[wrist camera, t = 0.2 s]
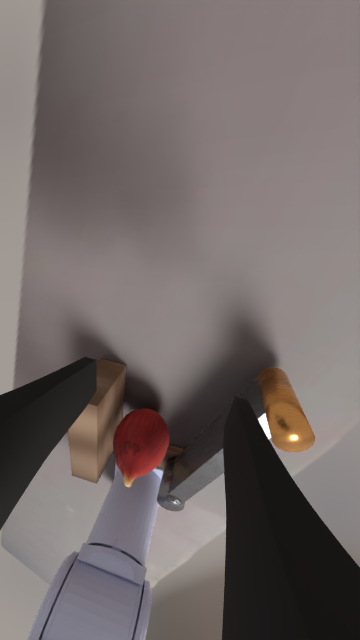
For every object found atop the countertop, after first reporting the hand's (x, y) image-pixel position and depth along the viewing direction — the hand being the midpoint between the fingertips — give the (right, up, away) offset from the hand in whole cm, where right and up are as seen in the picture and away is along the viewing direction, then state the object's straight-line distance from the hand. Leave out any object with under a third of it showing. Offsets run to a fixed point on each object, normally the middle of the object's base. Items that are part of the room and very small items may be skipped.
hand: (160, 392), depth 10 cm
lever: (+5, -9, +12) cm, 16 cm away
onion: (-2, -8, +15) cm, 17 cm away
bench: (-3, -9, +15) cm, 18 cm away
